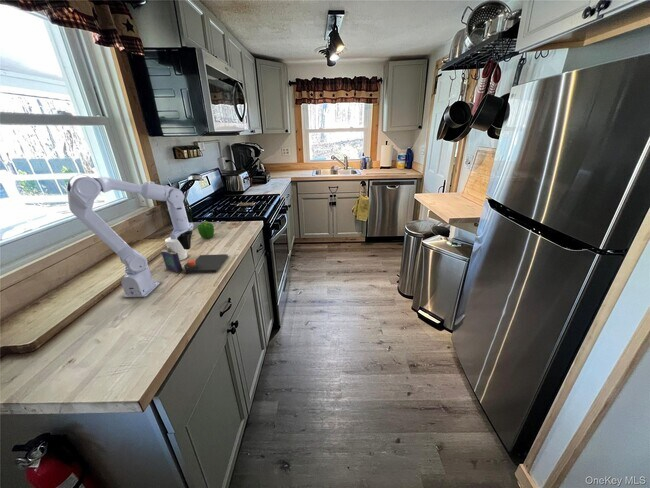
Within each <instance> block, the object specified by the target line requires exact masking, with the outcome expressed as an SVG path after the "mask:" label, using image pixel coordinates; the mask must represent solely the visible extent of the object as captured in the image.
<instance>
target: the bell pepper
mask: <svg viewBox="0 0 650 488" xmlns="http://www.w3.org/2000/svg"><path fill="white" fill-rule="evenodd" d="M197 231H198V234H199V235H200V238H201V239H203V240H205V239H212V238H214V237H215V226H214V224H212V222H209V221H207V220H206V221H204V222H203V223H201V224H197Z"/></svg>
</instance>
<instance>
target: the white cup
mask: <svg viewBox="0 0 650 488" xmlns="http://www.w3.org/2000/svg"><path fill="white" fill-rule="evenodd" d="M164 243H165V246H166V248H169V247H171V248H170V249H172V251H175V252H177V253H178V256H179V259H180V261H183V260H185V259H187V258H188V252H187V250H184V248H183V246H182V245H181V243H180V242H179V241H178V240H177V239H171V237H170V236H169V237H167V238H165V239H164Z"/></svg>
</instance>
